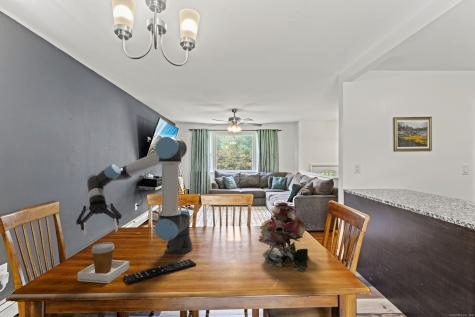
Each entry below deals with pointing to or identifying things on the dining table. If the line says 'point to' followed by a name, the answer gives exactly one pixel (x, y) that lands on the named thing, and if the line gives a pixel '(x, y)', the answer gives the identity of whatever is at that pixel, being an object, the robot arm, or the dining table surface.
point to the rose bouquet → (283, 237)
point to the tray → (91, 276)
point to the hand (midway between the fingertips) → (101, 232)
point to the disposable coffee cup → (103, 257)
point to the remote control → (158, 271)
